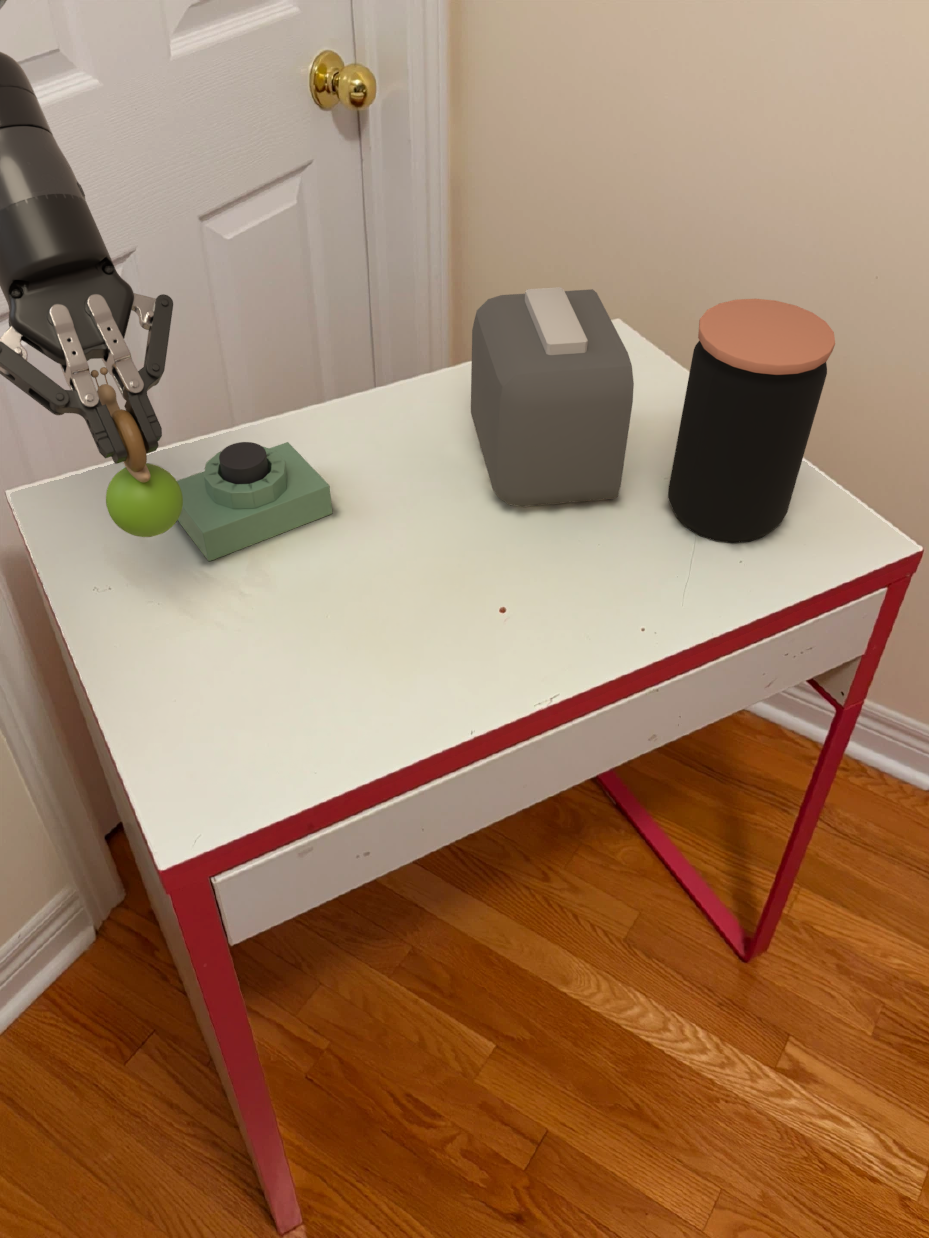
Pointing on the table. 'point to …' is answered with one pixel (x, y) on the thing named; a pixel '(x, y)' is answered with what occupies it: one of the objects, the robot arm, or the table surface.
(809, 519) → the table surface
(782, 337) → the coffee jar
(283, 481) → the green push button box
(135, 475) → the snail figurine
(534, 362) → the alarm clock
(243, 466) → the black button
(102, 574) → the table surface
